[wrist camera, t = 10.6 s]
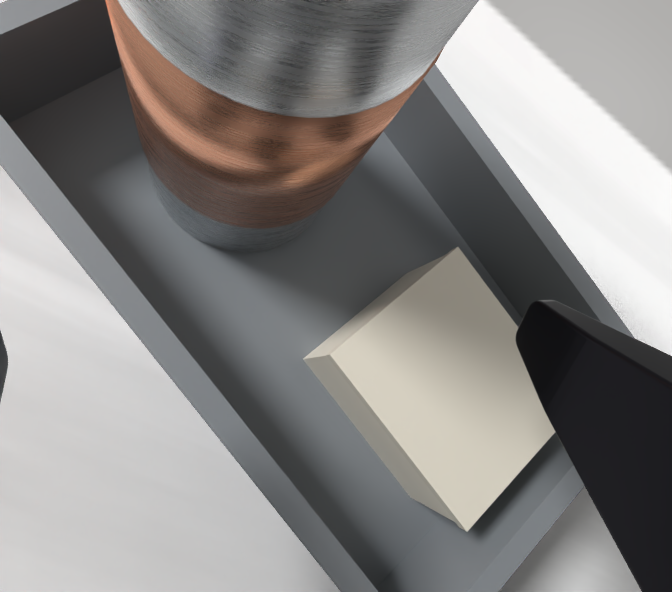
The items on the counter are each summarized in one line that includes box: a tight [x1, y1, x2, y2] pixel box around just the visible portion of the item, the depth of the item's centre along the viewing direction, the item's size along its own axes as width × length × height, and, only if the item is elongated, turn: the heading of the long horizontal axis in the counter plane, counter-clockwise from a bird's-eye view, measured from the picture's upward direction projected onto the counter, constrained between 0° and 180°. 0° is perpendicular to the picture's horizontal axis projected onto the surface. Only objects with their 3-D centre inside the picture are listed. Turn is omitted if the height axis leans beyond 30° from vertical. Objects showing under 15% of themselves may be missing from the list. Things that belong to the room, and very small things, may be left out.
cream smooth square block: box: [303, 247, 555, 532], centre depth 15 cm, size 6×5×4 cm
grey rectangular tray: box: [0, 0, 634, 592], centre depth 16 cm, size 20×12×4 cm, turn 39°
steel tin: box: [105, 0, 479, 253], centre depth 10 cm, size 6×6×13 cm
